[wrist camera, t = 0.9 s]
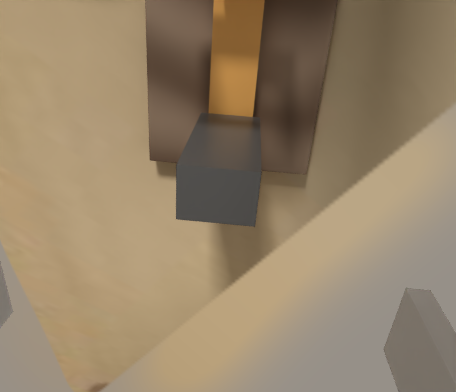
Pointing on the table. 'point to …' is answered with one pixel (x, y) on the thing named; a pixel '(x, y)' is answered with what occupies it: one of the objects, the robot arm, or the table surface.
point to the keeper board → (265, 85)
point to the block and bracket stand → (226, 125)
